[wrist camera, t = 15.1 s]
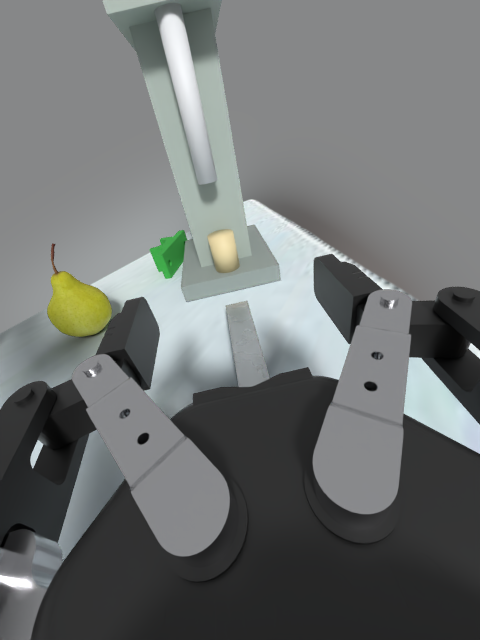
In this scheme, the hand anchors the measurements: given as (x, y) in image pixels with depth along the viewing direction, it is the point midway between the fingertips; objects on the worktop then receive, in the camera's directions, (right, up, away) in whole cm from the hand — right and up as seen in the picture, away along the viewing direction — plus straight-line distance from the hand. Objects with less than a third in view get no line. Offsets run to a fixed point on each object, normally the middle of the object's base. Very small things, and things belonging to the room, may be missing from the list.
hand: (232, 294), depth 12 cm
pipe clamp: (-12, +9, +38) cm, 41 cm away
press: (-2, +8, +32) cm, 34 cm away
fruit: (-20, -3, +24) cm, 31 cm away
